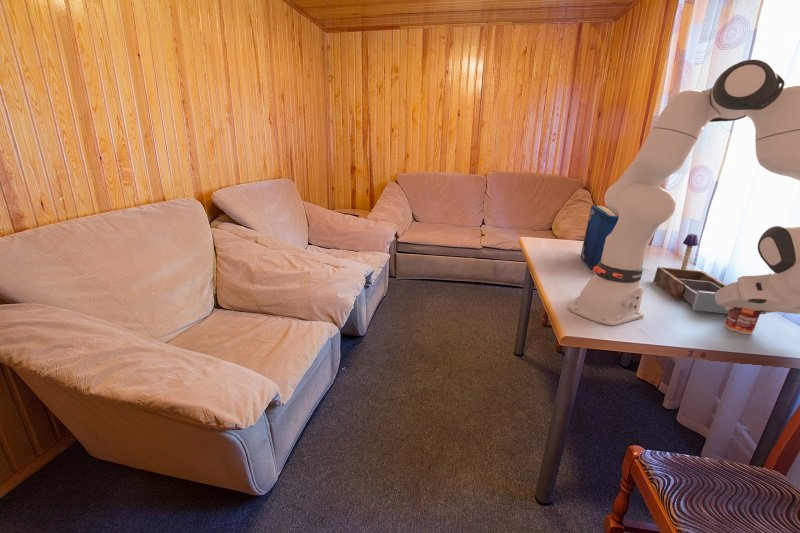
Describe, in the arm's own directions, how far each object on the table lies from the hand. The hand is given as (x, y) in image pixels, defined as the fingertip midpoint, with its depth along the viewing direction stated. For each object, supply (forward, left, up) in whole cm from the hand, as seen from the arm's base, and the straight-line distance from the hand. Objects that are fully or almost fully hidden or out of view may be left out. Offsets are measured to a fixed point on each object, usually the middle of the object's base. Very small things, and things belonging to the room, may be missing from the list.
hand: (743, 309), depth 102 cm
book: (+20, +50, -6) cm, 54 cm away
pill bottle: (0, 0, -6) cm, 6 cm away
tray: (+13, +11, -5) cm, 18 cm away
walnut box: (+21, +18, -6) cm, 28 cm away
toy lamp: (+44, +26, -6) cm, 51 cm away
